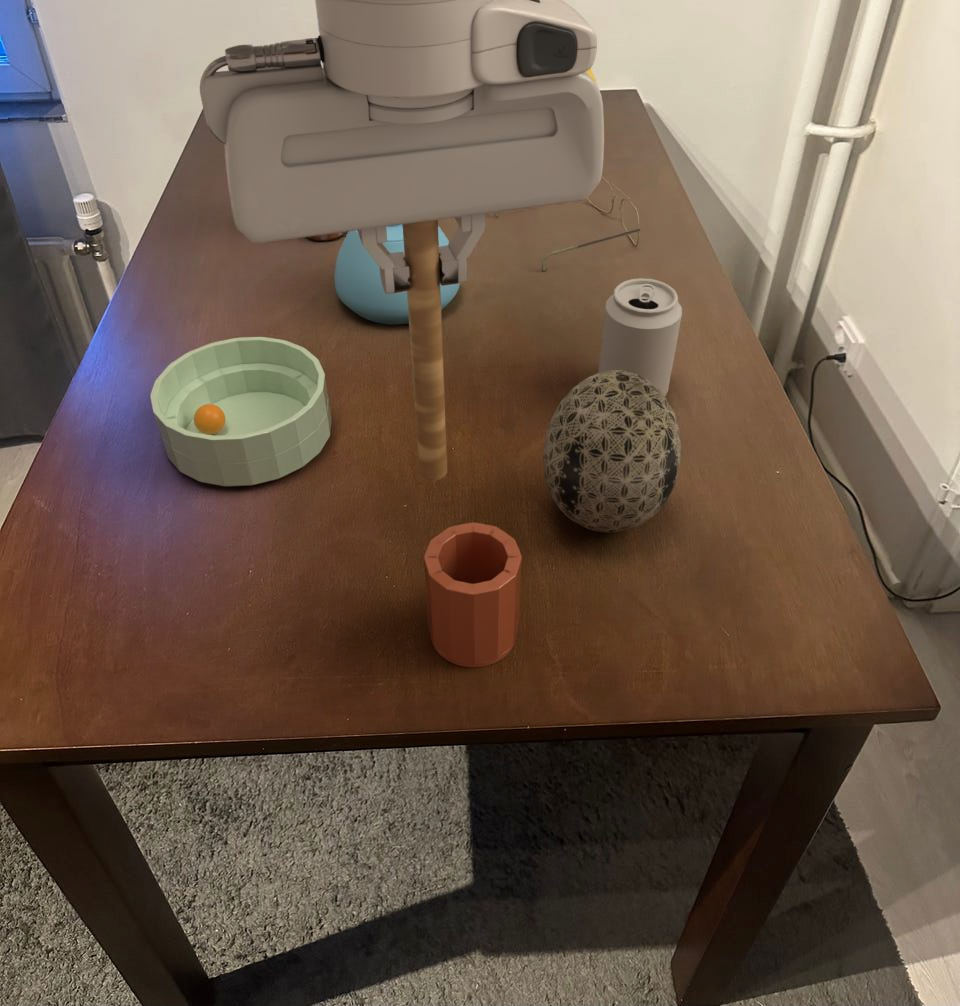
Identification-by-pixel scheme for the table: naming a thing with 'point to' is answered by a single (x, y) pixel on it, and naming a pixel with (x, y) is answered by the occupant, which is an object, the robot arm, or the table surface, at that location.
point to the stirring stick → (426, 345)
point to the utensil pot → (473, 593)
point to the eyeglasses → (600, 239)
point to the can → (641, 330)
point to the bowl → (243, 410)
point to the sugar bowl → (376, 280)
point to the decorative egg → (612, 452)
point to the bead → (209, 419)
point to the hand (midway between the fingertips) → (424, 283)
